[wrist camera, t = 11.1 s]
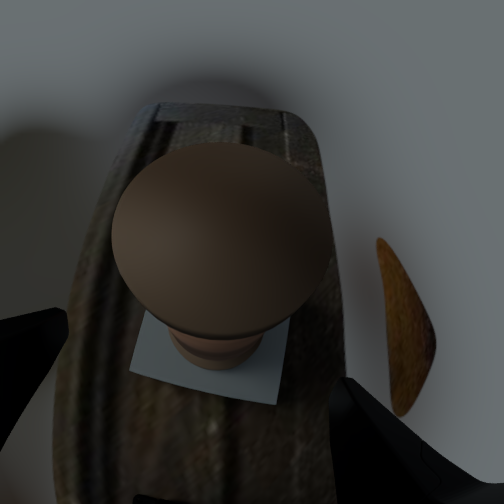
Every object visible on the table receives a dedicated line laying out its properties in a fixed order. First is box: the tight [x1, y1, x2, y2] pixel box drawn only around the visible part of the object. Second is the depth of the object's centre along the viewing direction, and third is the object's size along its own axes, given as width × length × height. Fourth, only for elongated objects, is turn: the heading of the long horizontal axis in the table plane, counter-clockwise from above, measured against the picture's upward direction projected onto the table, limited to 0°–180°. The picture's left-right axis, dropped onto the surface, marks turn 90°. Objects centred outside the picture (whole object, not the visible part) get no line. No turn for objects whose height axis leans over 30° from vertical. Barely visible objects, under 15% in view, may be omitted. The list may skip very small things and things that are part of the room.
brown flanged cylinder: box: [112, 142, 333, 370], centre depth 13 cm, size 6×6×12 cm
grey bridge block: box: [129, 310, 290, 405], centre depth 20 cm, size 9×9×4 cm
